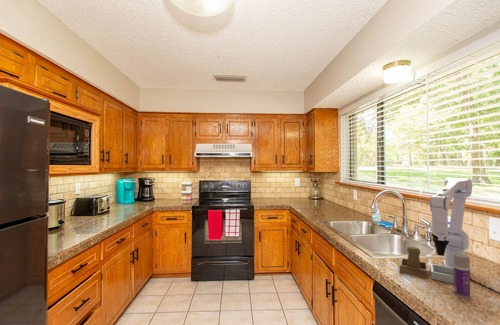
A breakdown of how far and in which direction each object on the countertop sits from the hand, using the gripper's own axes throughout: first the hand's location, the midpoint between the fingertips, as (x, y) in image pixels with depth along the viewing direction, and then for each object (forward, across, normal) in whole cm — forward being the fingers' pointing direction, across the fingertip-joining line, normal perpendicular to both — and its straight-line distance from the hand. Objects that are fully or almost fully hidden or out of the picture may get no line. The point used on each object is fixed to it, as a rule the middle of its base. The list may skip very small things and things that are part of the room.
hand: (439, 252), depth 109 cm
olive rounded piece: (+11, 0, -10) cm, 14 cm away
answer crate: (+10, 0, +2) cm, 11 cm away
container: (+11, +15, +6) cm, 19 cm away
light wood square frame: (+10, 0, -10) cm, 14 cm away
